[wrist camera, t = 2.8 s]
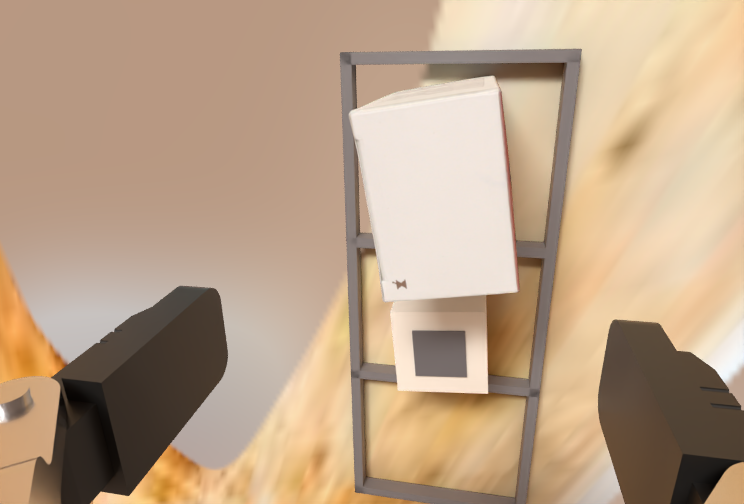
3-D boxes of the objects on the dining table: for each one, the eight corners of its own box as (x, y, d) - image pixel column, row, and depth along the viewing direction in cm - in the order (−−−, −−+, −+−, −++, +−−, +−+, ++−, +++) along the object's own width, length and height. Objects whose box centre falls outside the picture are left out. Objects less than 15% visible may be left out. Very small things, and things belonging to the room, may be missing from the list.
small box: (509, 218, 30) (522, 299, 20) (413, 228, 31) (381, 308, 21) (497, 71, 27) (504, 84, 17) (392, 89, 28) (345, 111, 19)
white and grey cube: (403, 274, 32) (389, 313, 28) (485, 273, 31) (485, 313, 27) (409, 344, 34) (397, 391, 29) (487, 345, 33) (488, 395, 28)
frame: (344, 52, 28) (339, 52, 27) (578, 48, 26) (581, 49, 25) (358, 482, 39) (355, 492, 38) (523, 505, 37) (524, 517, 36)
